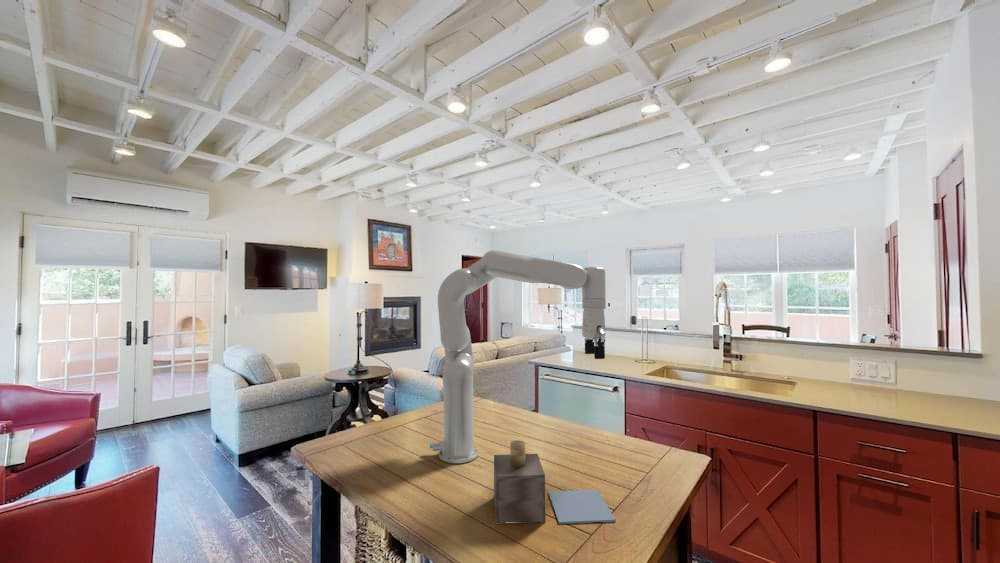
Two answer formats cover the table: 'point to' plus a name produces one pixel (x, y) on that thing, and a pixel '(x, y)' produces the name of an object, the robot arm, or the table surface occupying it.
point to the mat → (580, 507)
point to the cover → (519, 486)
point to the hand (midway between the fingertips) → (594, 356)
